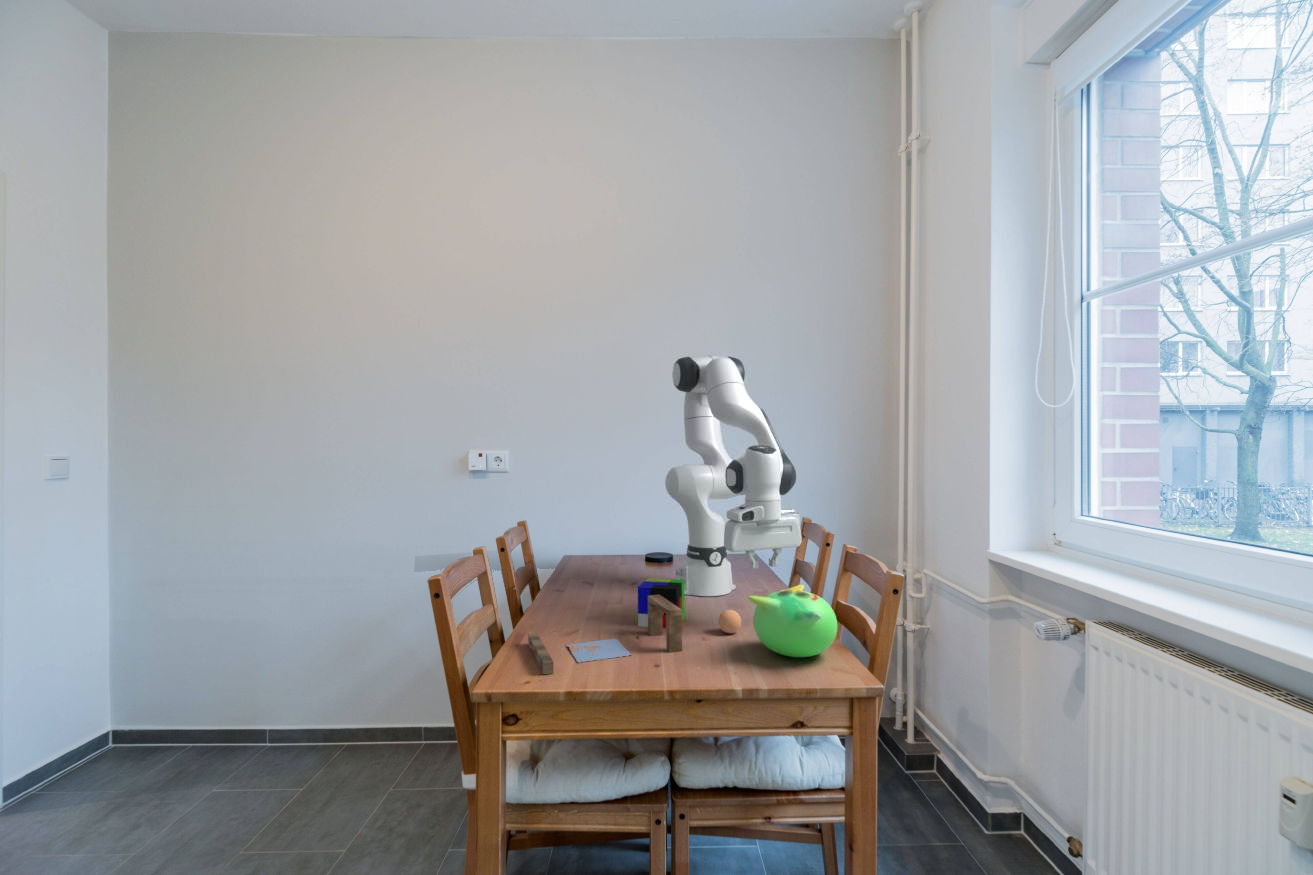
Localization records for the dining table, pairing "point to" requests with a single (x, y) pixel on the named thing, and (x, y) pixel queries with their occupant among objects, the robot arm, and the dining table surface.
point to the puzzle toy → (666, 589)
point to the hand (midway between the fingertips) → (763, 567)
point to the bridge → (672, 621)
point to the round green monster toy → (794, 622)
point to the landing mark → (599, 650)
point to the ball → (729, 621)
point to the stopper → (540, 653)
